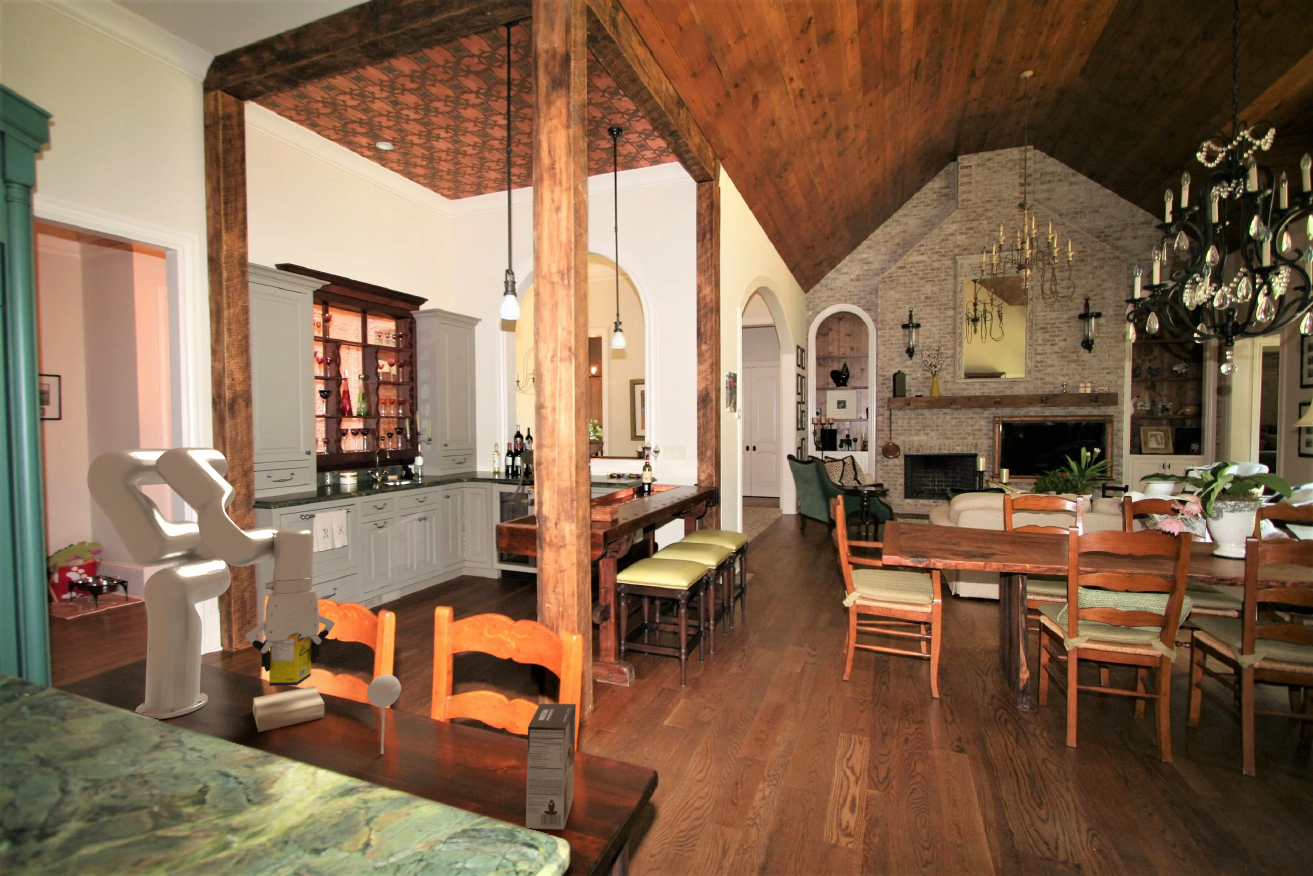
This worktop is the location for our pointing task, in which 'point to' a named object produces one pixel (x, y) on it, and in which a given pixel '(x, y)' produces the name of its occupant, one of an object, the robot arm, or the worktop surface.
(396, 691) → the lollipop
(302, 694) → the block
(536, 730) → the coffee box
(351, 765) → the worktop surface
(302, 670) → the supplement box
